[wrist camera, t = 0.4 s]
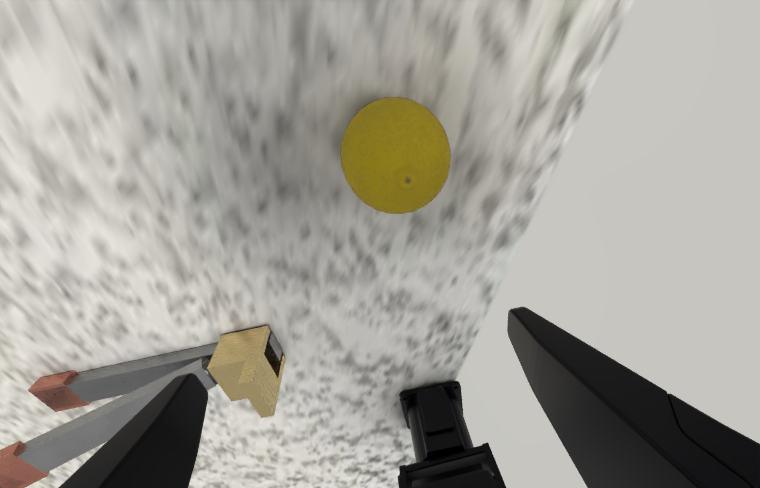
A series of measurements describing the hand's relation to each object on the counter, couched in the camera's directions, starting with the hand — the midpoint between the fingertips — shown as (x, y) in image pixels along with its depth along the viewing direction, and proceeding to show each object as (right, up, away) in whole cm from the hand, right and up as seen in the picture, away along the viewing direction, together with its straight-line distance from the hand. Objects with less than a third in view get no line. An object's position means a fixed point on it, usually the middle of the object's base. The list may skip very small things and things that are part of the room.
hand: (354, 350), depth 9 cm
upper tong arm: (-20, -10, +15) cm, 27 cm away
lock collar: (-10, -6, +19) cm, 22 cm away
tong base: (-18, -8, +19) cm, 27 cm away
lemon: (+1, +10, +11) cm, 15 cm away
